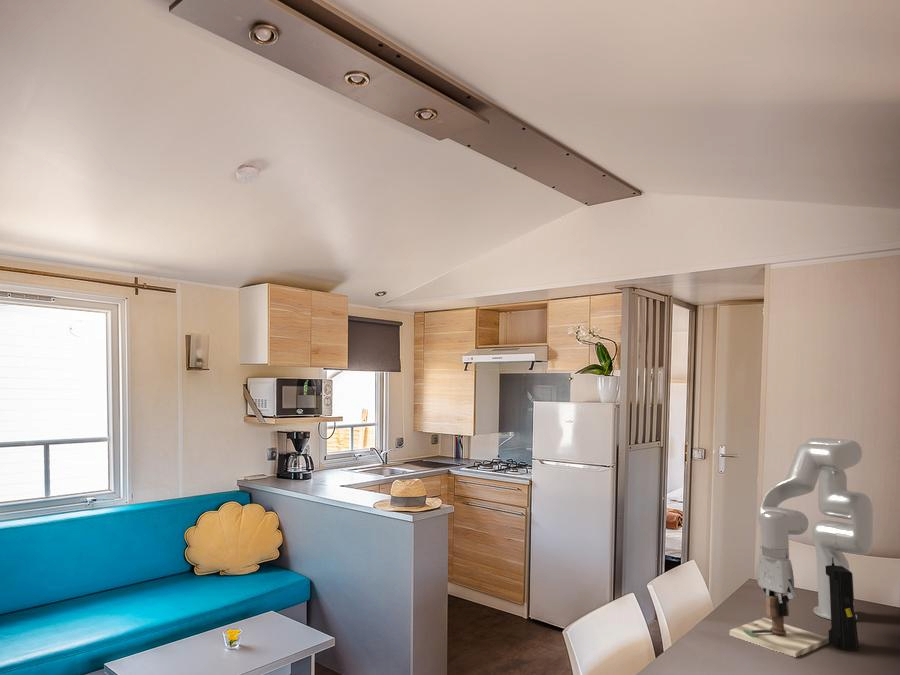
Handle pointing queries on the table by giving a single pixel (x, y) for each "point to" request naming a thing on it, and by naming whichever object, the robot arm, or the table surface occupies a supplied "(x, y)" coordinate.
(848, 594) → the portable radio
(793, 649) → the dial board
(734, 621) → the table surface
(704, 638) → the table surface
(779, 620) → the tuning peg
